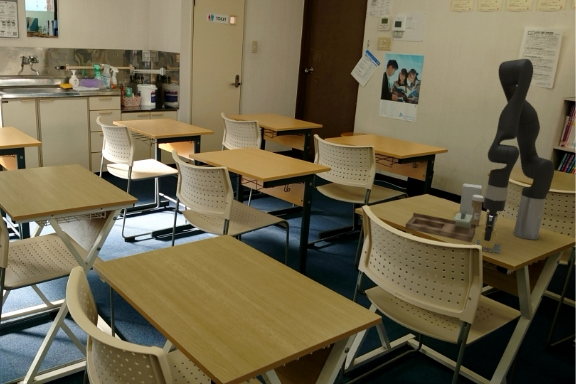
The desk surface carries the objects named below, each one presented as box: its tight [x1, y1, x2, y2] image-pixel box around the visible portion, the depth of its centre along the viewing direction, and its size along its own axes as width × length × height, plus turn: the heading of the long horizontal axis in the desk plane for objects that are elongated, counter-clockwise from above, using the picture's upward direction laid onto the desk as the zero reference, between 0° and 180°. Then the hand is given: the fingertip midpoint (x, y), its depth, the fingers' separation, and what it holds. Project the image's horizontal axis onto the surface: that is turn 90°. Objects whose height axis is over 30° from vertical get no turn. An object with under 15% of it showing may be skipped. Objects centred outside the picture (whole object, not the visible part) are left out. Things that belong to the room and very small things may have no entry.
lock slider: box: [452, 210, 473, 229], centre depth 211 cm, size 6×10×8 cm, turn 154°
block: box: [479, 227, 498, 249], centre depth 200 cm, size 5×5×6 cm
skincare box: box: [458, 183, 483, 215], centre depth 237 cm, size 8×6×15 cm
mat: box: [475, 239, 502, 254], centre depth 201 cm, size 10×10×1 cm
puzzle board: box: [404, 212, 477, 243], centre depth 215 cm, size 26×13×4 cm, turn 64°
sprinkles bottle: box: [470, 195, 485, 227], centre depth 225 cm, size 5×5×13 cm
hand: (488, 237), depth 200 cm, fingers open, 8 cm apart
